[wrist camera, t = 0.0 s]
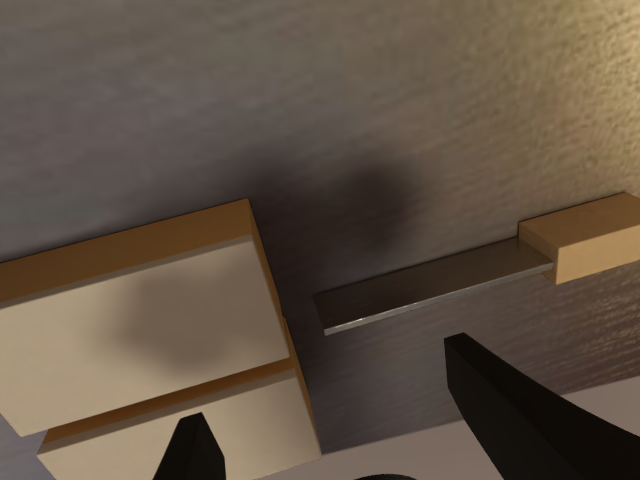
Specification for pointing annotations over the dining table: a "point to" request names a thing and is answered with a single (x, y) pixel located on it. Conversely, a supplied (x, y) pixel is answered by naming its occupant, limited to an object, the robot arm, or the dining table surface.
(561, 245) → the knife
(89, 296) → the sponge cake
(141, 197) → the dining table surface
